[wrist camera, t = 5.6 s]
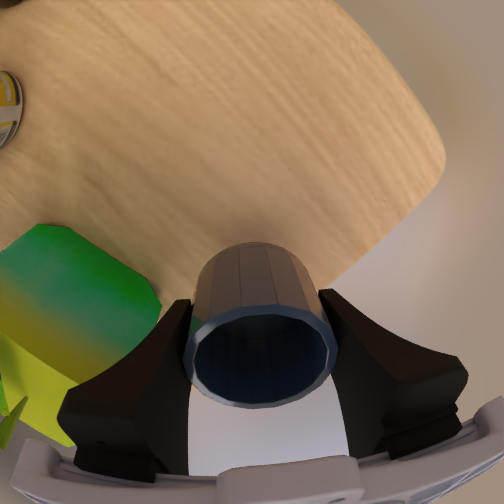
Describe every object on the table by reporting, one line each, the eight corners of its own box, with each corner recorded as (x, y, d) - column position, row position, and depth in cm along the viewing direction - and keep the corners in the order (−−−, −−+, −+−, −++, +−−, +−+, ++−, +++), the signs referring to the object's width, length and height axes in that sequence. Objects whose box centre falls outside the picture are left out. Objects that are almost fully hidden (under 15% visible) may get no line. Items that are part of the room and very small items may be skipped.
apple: (167, 290, 22) (116, 485, 8) (121, 360, 25) (79, 504, 11) (50, 214, 18) (-89, 343, 5) (26, 300, 22) (-55, 420, 8)
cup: (203, 340, 15) (197, 411, 11) (187, 246, 13) (168, 309, 9) (307, 333, 15) (327, 400, 11) (313, 237, 13) (347, 296, 9)
